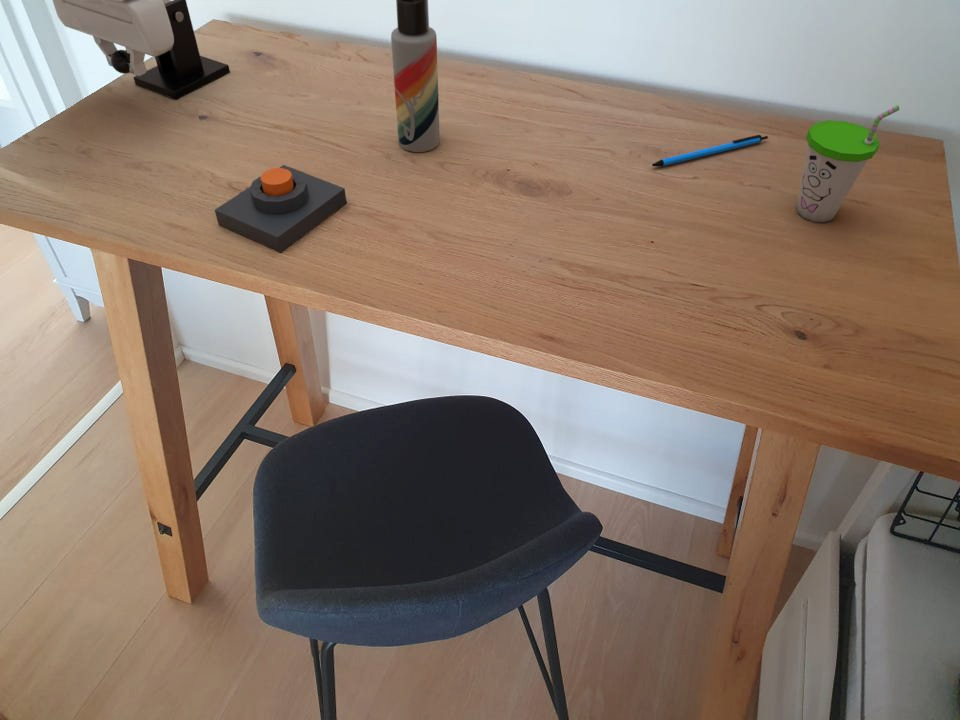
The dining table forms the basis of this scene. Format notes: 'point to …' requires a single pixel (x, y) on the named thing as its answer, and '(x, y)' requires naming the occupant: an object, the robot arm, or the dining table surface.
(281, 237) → the control block
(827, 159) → the cup
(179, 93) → the switch bracket
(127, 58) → the switch
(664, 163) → the pen
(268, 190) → the button
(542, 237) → the dining table surface
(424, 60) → the lotion bottle
